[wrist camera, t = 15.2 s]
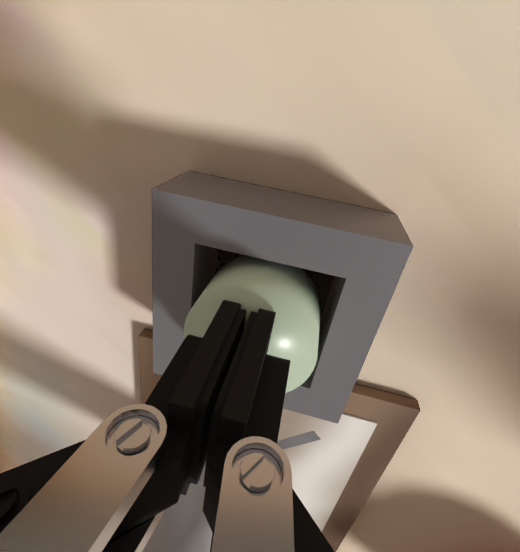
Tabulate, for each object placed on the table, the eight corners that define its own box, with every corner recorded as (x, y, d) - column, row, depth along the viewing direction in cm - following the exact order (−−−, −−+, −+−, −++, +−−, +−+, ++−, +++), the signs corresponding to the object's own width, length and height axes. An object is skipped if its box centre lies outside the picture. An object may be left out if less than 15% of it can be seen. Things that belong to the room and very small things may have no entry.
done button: (334, 269, 12) (333, 308, 9) (306, 361, 14) (300, 410, 12) (213, 241, 12) (186, 272, 10) (204, 334, 14) (181, 377, 12)
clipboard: (417, 400, 16) (422, 419, 15) (330, 549, 24) (330, 568, 23) (144, 328, 17) (133, 341, 16) (148, 492, 25) (141, 507, 24)
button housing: (396, 214, 12) (413, 245, 9) (337, 371, 16) (337, 423, 13) (188, 170, 13) (151, 188, 10) (181, 330, 17) (153, 372, 14)
